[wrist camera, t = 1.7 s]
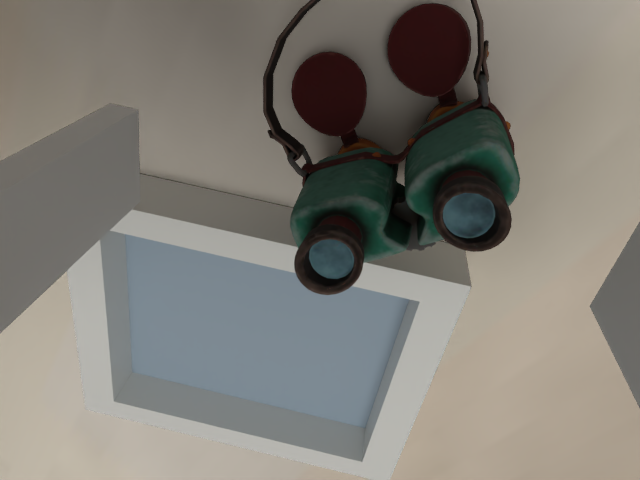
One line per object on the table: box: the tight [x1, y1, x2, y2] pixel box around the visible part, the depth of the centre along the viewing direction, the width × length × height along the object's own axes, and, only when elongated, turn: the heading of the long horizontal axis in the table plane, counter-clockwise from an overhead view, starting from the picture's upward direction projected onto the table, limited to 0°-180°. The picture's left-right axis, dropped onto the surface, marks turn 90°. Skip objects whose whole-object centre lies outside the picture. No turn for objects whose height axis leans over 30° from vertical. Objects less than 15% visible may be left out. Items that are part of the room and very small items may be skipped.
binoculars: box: [263, 0, 520, 295], centre depth 18 cm, size 9×11×10 cm
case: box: [67, 174, 472, 480], centre depth 29 cm, size 16×20×4 cm
